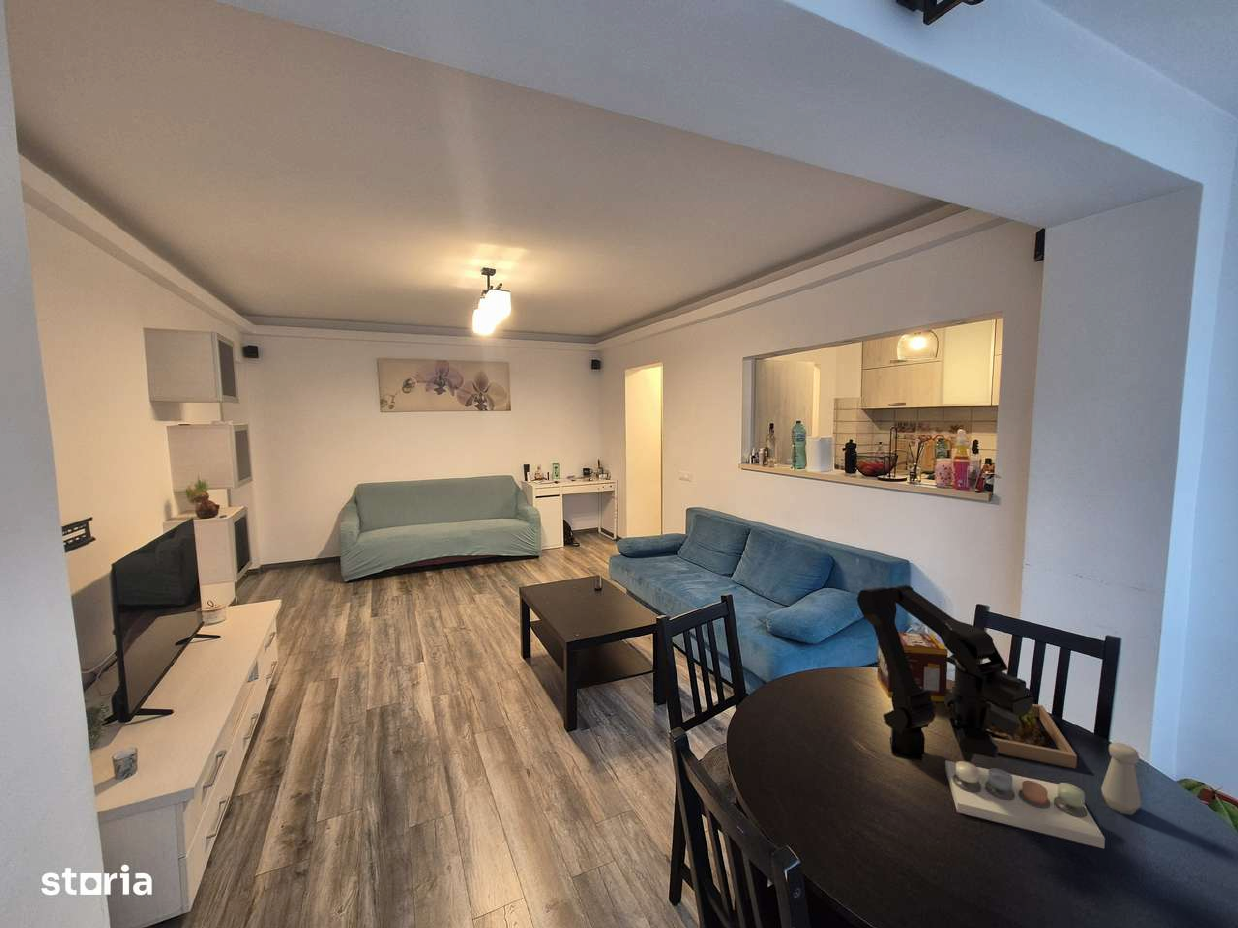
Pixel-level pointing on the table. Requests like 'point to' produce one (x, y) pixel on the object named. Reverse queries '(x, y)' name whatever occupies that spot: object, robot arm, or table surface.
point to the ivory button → (967, 772)
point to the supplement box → (919, 664)
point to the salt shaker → (1122, 780)
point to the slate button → (1000, 779)
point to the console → (1023, 808)
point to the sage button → (1071, 795)
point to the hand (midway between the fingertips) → (967, 760)
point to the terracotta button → (1034, 792)
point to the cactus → (1027, 732)
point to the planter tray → (1058, 757)
